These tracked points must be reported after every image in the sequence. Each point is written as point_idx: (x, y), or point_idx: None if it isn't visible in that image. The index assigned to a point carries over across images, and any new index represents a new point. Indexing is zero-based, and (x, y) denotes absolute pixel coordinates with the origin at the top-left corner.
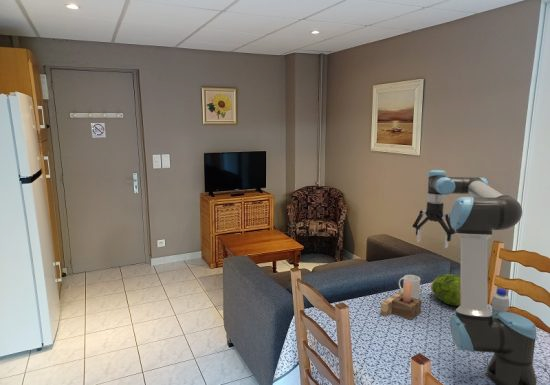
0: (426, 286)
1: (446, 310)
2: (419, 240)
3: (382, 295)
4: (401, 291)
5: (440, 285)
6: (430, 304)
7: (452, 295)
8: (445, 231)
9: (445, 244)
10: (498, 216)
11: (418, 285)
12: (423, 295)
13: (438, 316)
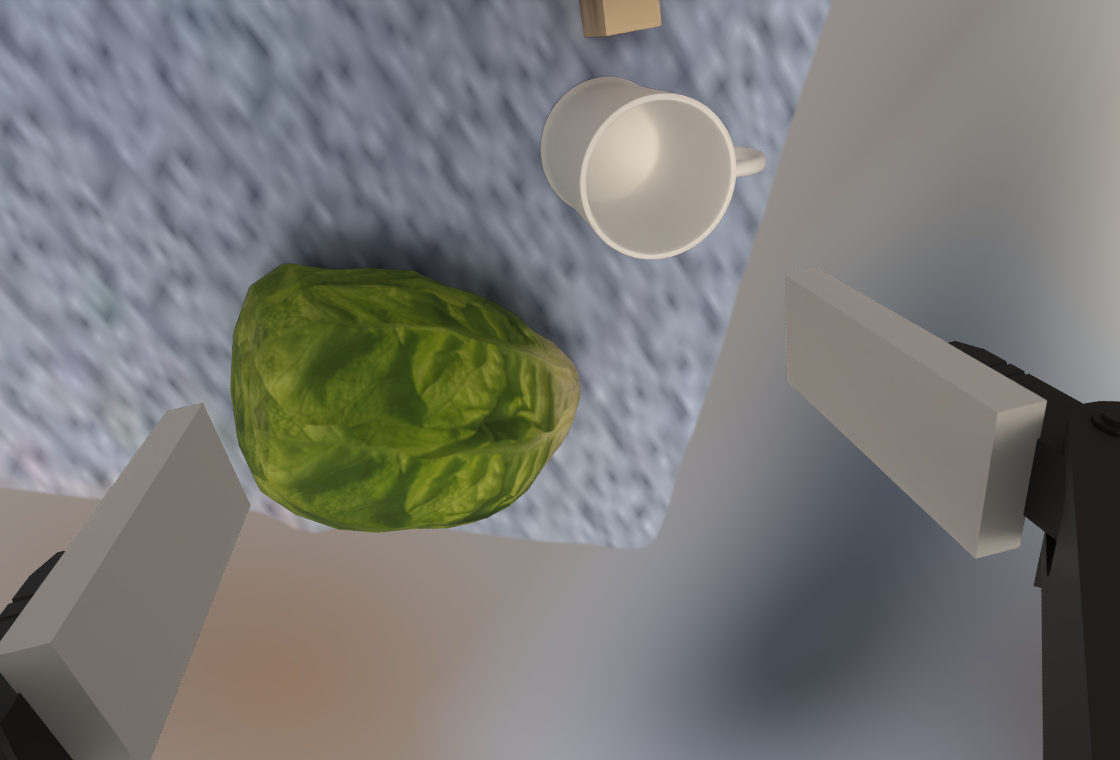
0: (660, 436)
1: (326, 208)
2: (801, 330)
3: (793, 10)
4: (646, 13)
5: (425, 308)
6: (460, 199)
7: (280, 270)
8: (1, 758)
9: (153, 449)
10: None
11: (569, 171)
12: (587, 294)
13: (280, 50)
